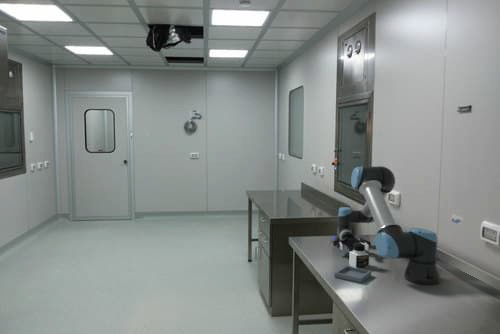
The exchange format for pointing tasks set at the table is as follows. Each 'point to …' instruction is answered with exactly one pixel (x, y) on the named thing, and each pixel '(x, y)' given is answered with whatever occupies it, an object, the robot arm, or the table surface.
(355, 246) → the medicine bottle
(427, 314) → the table surface
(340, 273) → the tray
